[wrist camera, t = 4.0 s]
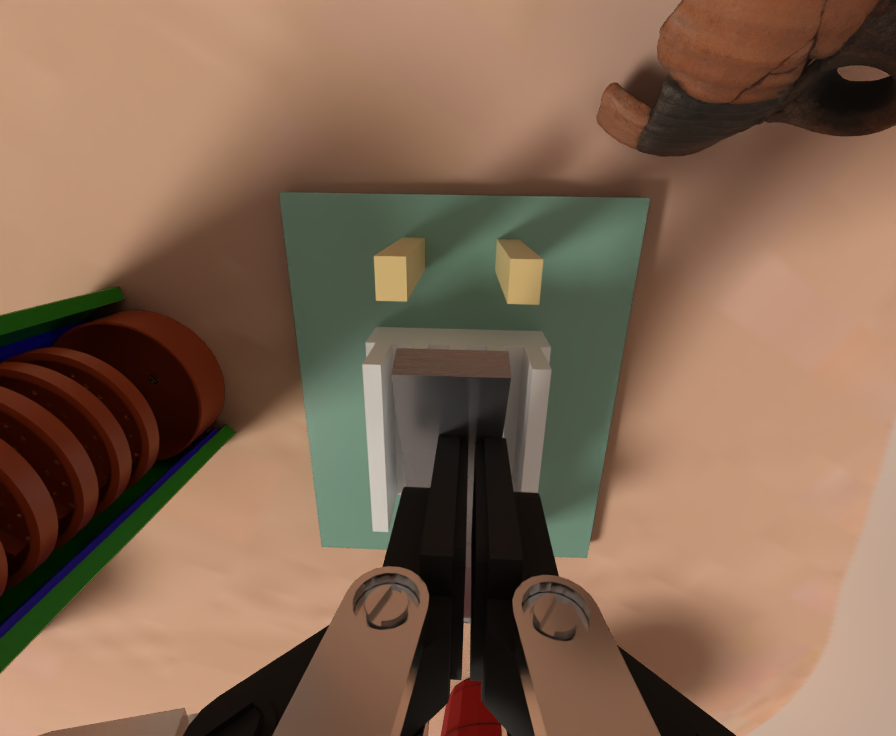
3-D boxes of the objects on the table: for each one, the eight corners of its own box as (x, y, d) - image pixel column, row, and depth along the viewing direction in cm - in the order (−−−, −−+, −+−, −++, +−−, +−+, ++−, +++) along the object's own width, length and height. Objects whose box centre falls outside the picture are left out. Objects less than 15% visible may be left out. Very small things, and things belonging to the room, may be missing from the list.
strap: (392, 344, 9) (385, 378, 9) (513, 348, 9) (516, 381, 9) (424, 600, 21) (422, 623, 20) (477, 602, 21) (477, 626, 20)
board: (287, 192, 20) (179, 190, 12) (641, 197, 19) (750, 199, 12) (326, 535, 27) (273, 662, 20) (582, 545, 27) (627, 680, 19)
